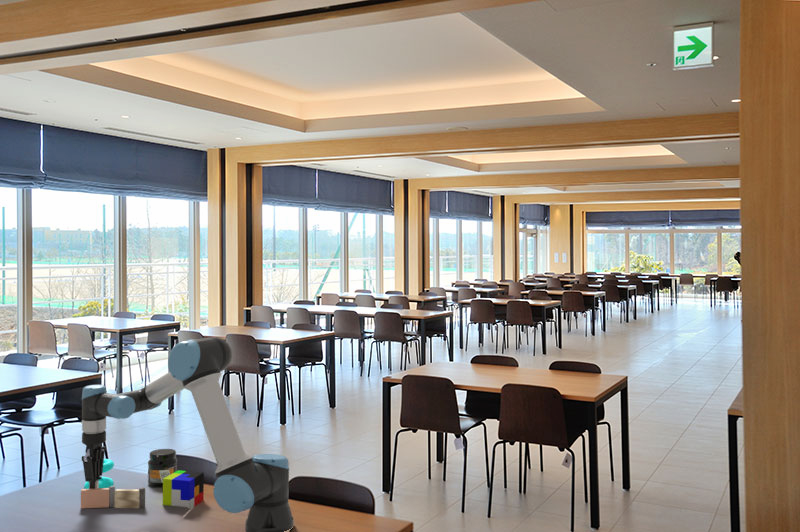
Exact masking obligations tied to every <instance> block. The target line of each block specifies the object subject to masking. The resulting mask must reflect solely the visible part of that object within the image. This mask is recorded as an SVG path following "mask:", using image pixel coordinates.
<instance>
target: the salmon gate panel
mask: <svg viewBox="0 0 800 532" xmlns="http://www.w3.org/2000/svg"><path fill="white" fill-rule="evenodd" d="M115 490H116V486H115V485H113V486H110V487H109V488H96V489H85V488H82V489H81V490H80V509H95V508H96V509H101V508H115Z"/></svg>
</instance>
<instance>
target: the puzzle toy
mask: <svg viewBox="0 0 800 532" xmlns="http://www.w3.org/2000/svg"><path fill="white" fill-rule="evenodd" d="M204 476H205V472H204V471H203V472H201V471H189V470H179V469H177V471H176V472H174V473H172V474H171V475H169V476H167V477H165V478H164V479H163V487H162V506H172V507H182V508H187V509H188V511H191V510H192V509H193V508H194V507H196V506H197V505H199V504H200V503H202V502H203V501H204V494H205V493H204V490H205V489H204V485H205V483H204V481H205V477H204Z"/></svg>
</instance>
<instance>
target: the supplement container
mask: <svg viewBox="0 0 800 532" xmlns="http://www.w3.org/2000/svg"><path fill="white" fill-rule="evenodd" d="M148 458H149V460H148V462H147V468H148V469H147V472H148V473H147V474H148V475H147V483H148V485H149V486H151V487H153V488H163V479H164V478H165V477H167V476H169V475H171V474H172V473H174V472H176V471H178V459H177V451H176V450H175V449H171V448H159V449H155V450H152V451H150V452H149V457H148Z"/></svg>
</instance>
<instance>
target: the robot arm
mask: <svg viewBox="0 0 800 532" xmlns="http://www.w3.org/2000/svg"><path fill="white" fill-rule="evenodd" d="M169 353H170V354H169V355H168V358H167V367H168V371H169V372H167V373H165V374H163V375H162V376H160V377H159V378H157V379H155V380H154V381H152V382H150V383H149V384H148V385H145V386H144V387H142V388H140V389H136V390H135V389H134V390H131V391H126V392H121V393H116V394H115V393H108V392H107V387H106V386H105V385H103V384H89V385H86V386H84V387H83V388H82V394H81V421H80V422H81V431H82V433H81V443H82V444H83V445H84V446H85V451H84V453H85V454H84V455H82V456H81V461H82V465H83V473H84V479H85V483H86V482H89V489H96V488H99V480H98V479H102V477H103V473H102V471H103V462H104V459H105V454H106V448H107V447H106V446H103V443H105V442H106V441H107V431H106V430H107V417H108V418H114V419H118V420H119V419H121V420H124V419H128V418H130V417H131V416H132V415H133V414H137V413H139V412H140V413H141V412H143V411H152V410H154V409H156V408H158V407H160V406H161V405H162V403H163V402H164V401H165V400H167V399H169V398H171V397H173V396H175V395H176V394H178V393H180V392H181V391H183V390H187V391H189V392H191V395H192V398H193V400H194V404H195V407H196V409H197V411H198V414H199V417H200V420H201V422H202V426H203V429H204V431H205V433H206V436H207V438H208V442H209V445H210V448H211V450H212V453H213V456H214V458H215V461H216V464H217V468H216V469H215V473H214V475H215V478H216V480H215V482H214V484H213V487H214V488H212V489H213V490H212V491H213V492H212V493H213V498H214V501H216V503H217V505H218V506H219V507H220V508H221V509H222V510H223V511H226V512H227V513H230V514H239V513H241V512H245V511H247V510H249V511H248V514H247V519H246V520H245V524H244V525H245V528H244V530H245V532H284V531H287V530H289V529H291V528H292V527H293V525H294V524H295V522H294V521H295V520H294V516H293V515H292V514H293V513H292V510H291V507H290V504H289V487H290V485H289V483H290V481H289V480H290V479H289V478H290V463H289V459H288V458H287V457H286V456H284V455H282V454H273V453H258V454H255V455H253V456H250V455H248V454H247V453H246V452H245V449H244V447H243V445H242V441H241V438H240V436H239V432H238V430H237V428H236V425H235V423H234V419H233V416H232V414H231V412H230V409H229V407H228V403H227V401H226V398H225V396H224V392H223V391H222V388H221V384H220V383H219V380H220V378H221V376H222V372H223V371H225V370H226V369H227V368H229V366H230V365H231V362H232V360H233V350H232V347H231V345H230V344H229V343H228V341H226V340H225V339H223V338H221V337H218V336H210V337H204V338H196V339H187V340H184V341H179V342H178V343H177V344H175V345H174V346H173V347H172V349H171V350H170V352H169ZM294 526H295V525H294Z"/></svg>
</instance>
